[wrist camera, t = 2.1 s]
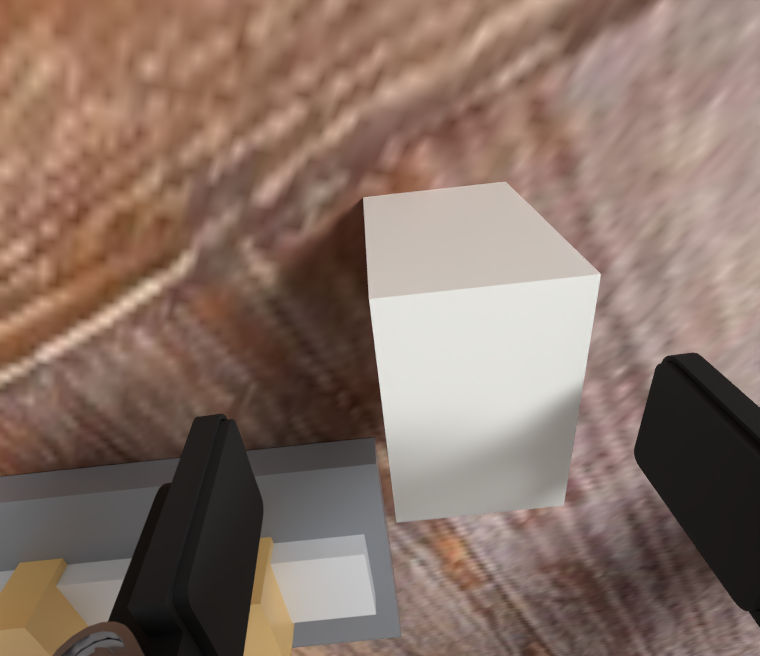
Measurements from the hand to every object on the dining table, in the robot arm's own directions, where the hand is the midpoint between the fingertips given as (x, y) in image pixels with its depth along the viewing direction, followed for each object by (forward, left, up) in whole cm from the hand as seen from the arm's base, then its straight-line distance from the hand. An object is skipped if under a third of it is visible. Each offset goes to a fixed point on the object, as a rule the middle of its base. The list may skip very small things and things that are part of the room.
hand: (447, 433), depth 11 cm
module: (-1, 0, -8) cm, 8 cm away
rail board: (+13, +14, -7) cm, 21 cm away
